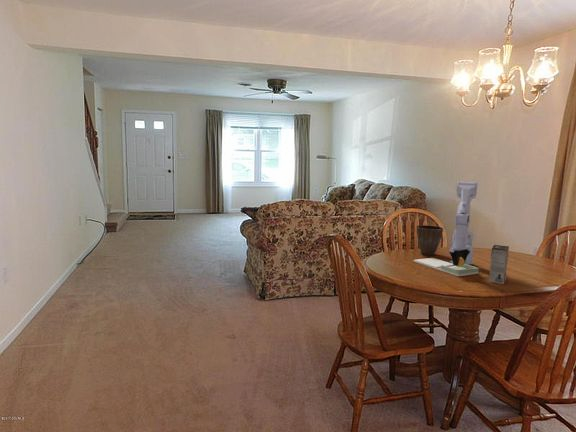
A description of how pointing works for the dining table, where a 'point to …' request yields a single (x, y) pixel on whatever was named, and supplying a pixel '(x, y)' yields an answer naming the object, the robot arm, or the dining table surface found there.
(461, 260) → the ball
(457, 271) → the board
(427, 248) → the plant pot
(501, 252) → the coffee box
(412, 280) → the dining table surface
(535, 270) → the dining table surface
